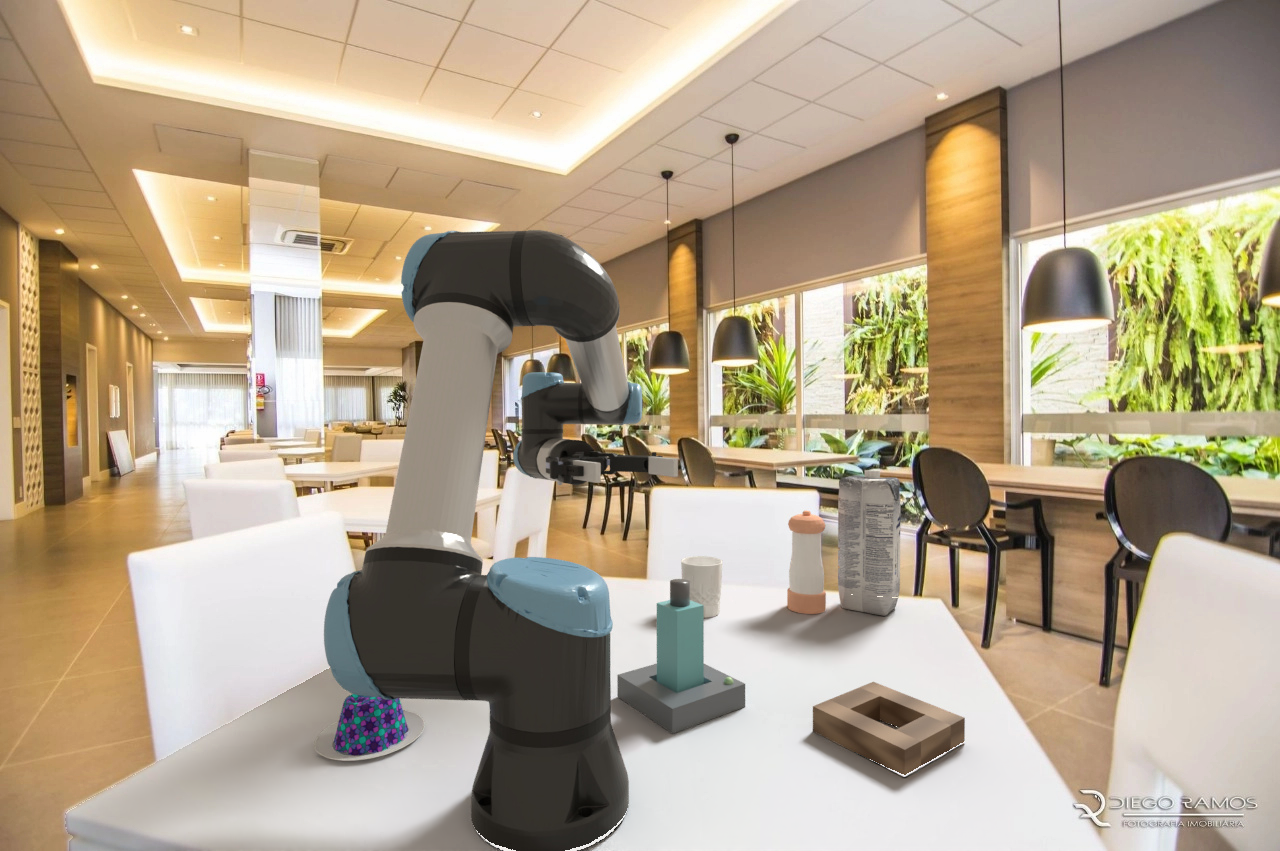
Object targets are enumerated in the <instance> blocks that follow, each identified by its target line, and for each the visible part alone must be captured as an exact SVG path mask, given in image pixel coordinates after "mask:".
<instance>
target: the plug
mask: <svg viewBox="0 0 1280 851" xmlns="http://www.w3.org/2000/svg"><path fill="white" fill-rule="evenodd" d="M704 619H705V618H704V605H702V604H699V603H696V602H694V601H691V600H690V581H689V580H686V579H682V578H675V579H673V578H672V579H671V580H670V581H669V600H665V601H660V602H656V664H657V682H658V683H660V684H662V685H663V686H665V687H667V688H668V689H670V690H672V691H674V692H675V693H679V692H682V691H685V690H688V689H691V688H694V687H697V686H700V685H703V684H704V664H705V663H704V661H705V660H704V657H705V656H704V653H705V652H704V651H705V650H704V649H705V648H704V646H705V645H704V644H705V640H704V637H705V633H704V631H705V630H704Z"/></svg>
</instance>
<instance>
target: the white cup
mask: <svg viewBox="0 0 1280 851" xmlns="http://www.w3.org/2000/svg"><path fill="white" fill-rule="evenodd" d="M680 563H681V564H680V566H681V579H686V580H689V581H690V600H691V601H694V602H696V603H699V604H702V605H704V619H706V618H713V617H716V615H717V616H718V615H719V614H720V611H721V610H720V609H721V597H722V582H723V581H722V580H723V579H722V578H723V560H722V559H720V558H718V557H714V556H707V555H706V556H705V555H704V556H703V555H697V556H687V557H684V558H682V559H681V560H680Z"/></svg>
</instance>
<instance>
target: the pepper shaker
mask: <svg viewBox="0 0 1280 851" xmlns="http://www.w3.org/2000/svg"><path fill="white" fill-rule="evenodd" d="M787 525H788V528H789V530H790V531H791V532H792V534H791V542H792V543H791V557H790V563H789V564H790V565H789V569H788V581H789V583H788V584H789V587H788V588H787V592H786V593H787V596H786V597H787V601H786V602H787V603H786V604H787V609H789V611H792V612H795V613H797V614H804V615H815V614H816V615H817V614H823V613H824V612H826V610H827V609H826V607H827V605H826V604H827V602H826V601H827V594H826V591H825V589H824V587H825V571H824V564H823V559H822V533H823V532H824V531H825V529H826V522H825V521H824V519H823V517H820V516H819V515H816V514H813V513H812V512H811V511H809V510H804V511H802V513H800V514H795V515H793V516H791V517H790V519H789V520H788V523H787Z"/></svg>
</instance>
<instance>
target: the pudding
mask: <svg viewBox="0 0 1280 851" xmlns="http://www.w3.org/2000/svg"><path fill="white" fill-rule="evenodd" d="M425 724H426V723H425V720H424V718H423V717H421V715H419V714H418V713H416V712H415V711H414V712H413V711H410V710H405V709H403V706H402V703H401V698H398V699H392V700H391V699H390V700H385V699H382V698H380V697H374V696H362V695H356V694H352V693H351V694H350V695H348V696H347V697H346V698H345V699H344V700H343V703H342V707H341V711H340V714H339V720H338V721H336V722H333V723H332V724H330V725H329V726H327V727H326V728H324V729H323V730H322V731H321V732H320V733H318V735H317V736H316V739H315V740H314V744H313V747H314V750H315V751H316V753H317V754H318V755H320V756H322V757H324V758H326V759H328V760H330V759H331V760H335V761H344V762H348V761H354V762H355V761H363V760H370V759H375V758H379V757H382V756H386V755H388V754H392V753H394V752H396V751H399V750H401V749H403V748H405V747H407V746H409V745H410V744H412V743H413V742H414V741H416V740H417V739H418V738H419V737H420V736H421V735H422V733H423V732H424V729H425ZM407 732H408V734H407V735H406V737H405V734H406V733H407ZM333 743H334V747H333ZM393 745H394V746H393ZM390 746H392V747H390ZM389 747H390V748H389ZM342 753H347V754H348V755H347V754H342ZM368 753H369V754H368ZM370 753H371V754H370Z"/></svg>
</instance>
